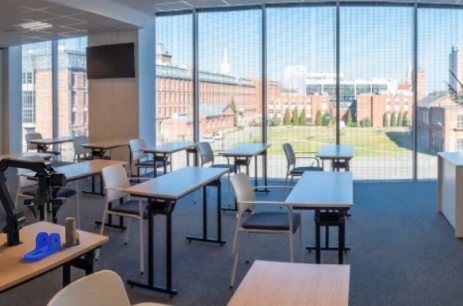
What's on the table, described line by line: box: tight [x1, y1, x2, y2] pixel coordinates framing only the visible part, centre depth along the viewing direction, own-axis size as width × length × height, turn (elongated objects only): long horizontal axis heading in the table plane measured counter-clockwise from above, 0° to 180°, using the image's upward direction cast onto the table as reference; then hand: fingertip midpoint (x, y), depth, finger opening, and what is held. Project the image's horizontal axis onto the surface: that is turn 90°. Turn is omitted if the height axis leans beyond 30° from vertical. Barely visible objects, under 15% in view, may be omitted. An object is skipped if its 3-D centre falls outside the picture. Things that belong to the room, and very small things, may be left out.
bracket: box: [23, 231, 62, 263], centre depth 205 cm, size 18×8×9 cm, turn 167°
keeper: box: [62, 231, 82, 247], centre depth 221 cm, size 7×6×6 cm
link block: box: [64, 216, 77, 244], centre depth 221 cm, size 4×4×12 cm
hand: (45, 218), depth 219 cm, fingers open, 9 cm apart
